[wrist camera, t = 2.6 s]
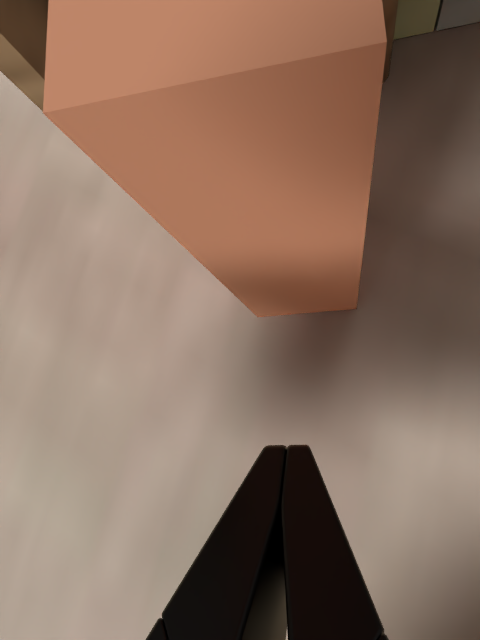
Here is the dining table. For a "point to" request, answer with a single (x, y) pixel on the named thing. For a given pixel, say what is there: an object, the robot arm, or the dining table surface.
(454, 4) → the book rack
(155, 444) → the dining table surface
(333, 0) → the book
